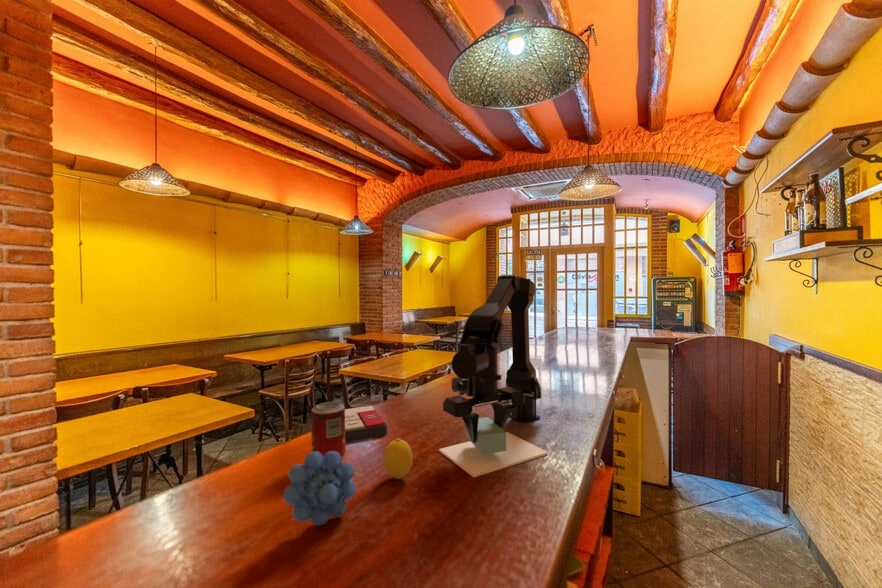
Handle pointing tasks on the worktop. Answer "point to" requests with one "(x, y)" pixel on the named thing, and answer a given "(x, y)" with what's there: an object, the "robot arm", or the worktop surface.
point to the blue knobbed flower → (320, 487)
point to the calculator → (363, 423)
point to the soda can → (328, 428)
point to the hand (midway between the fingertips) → (485, 439)
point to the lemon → (398, 458)
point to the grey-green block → (489, 437)
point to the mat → (491, 455)
